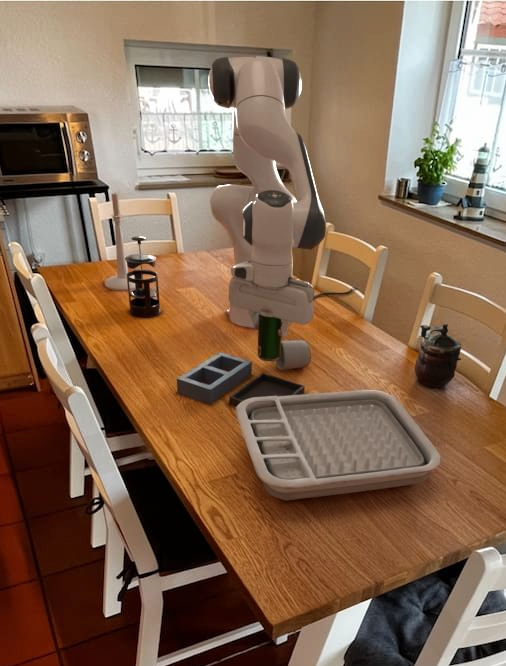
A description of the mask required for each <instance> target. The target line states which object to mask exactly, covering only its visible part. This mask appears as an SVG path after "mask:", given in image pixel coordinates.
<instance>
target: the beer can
mask: <svg viewBox="0 0 506 666" xmlns="http://www.w3.org/2000/svg"><path fill="white" fill-rule="evenodd" d="M260 310H261V311H260V312H259V316H258V330H257V357H258V358H259V359H260V360H261V361H263V362H269V363H270V362H271V363H272V362H276V360H278V359H279V357H280V355H281V341H282V337H280V336H278V329H280V328H281V327H283V322H282V319H279V318H276V317H274V315H273V314H272V313H273V312H269V311H266V310H262V309H260Z"/></svg>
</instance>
